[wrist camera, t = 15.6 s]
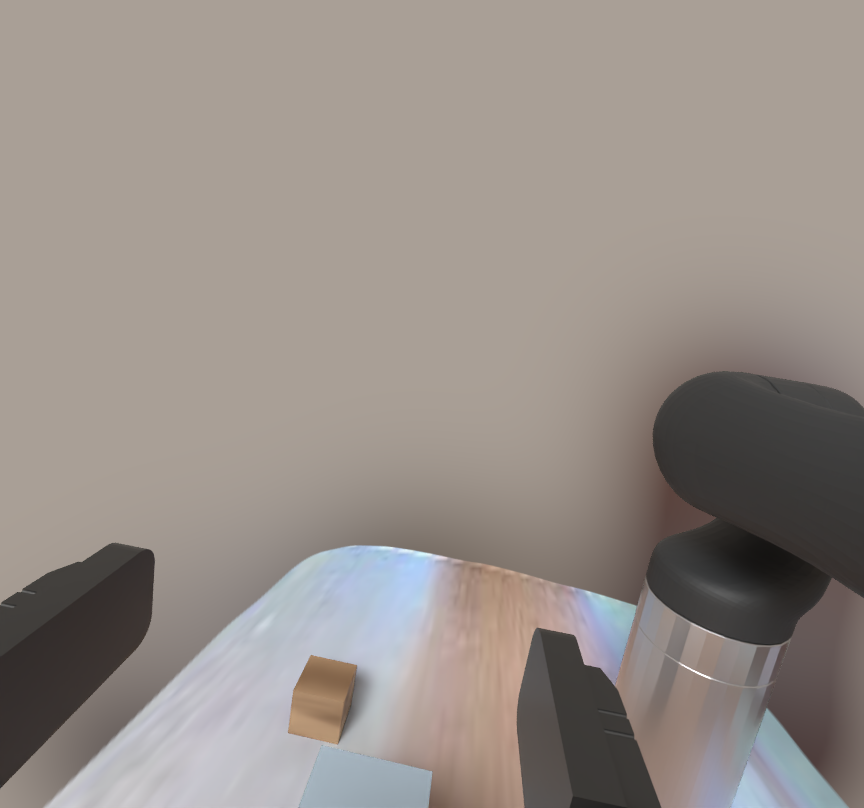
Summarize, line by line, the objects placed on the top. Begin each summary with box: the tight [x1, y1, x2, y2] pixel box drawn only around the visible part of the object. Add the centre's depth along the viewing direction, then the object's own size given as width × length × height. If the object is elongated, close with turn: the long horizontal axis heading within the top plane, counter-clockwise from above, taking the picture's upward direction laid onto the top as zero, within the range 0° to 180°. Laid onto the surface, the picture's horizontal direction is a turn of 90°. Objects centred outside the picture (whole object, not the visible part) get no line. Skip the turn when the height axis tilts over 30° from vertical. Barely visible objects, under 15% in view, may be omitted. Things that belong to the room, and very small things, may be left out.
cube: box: [288, 655, 357, 744], centre depth 41 cm, size 4×4×4 cm
